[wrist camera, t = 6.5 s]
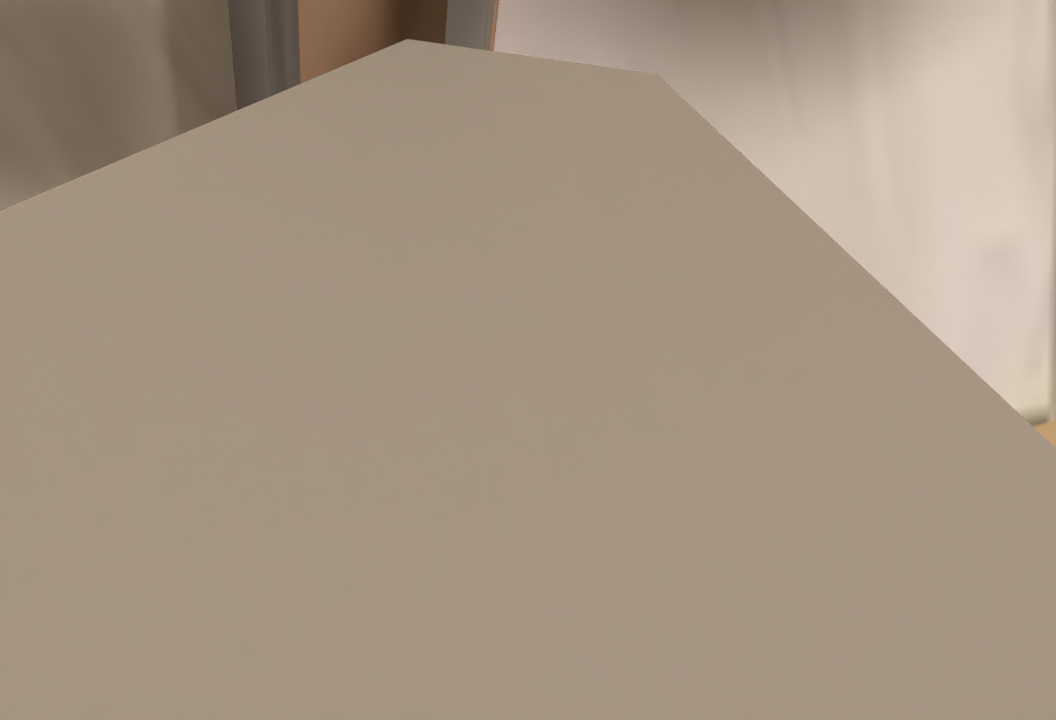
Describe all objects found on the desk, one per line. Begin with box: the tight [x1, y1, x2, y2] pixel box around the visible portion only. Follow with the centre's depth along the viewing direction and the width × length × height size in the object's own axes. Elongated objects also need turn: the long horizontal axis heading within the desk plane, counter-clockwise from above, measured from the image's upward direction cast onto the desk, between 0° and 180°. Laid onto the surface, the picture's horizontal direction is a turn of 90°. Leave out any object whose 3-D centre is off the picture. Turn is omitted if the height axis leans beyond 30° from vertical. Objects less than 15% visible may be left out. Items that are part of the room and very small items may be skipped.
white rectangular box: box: [0, 39, 1056, 720], centre depth 8 cm, size 4×10×11 cm, turn 173°
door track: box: [228, 0, 499, 110], centre depth 26 cm, size 8×28×4 cm, turn 172°
